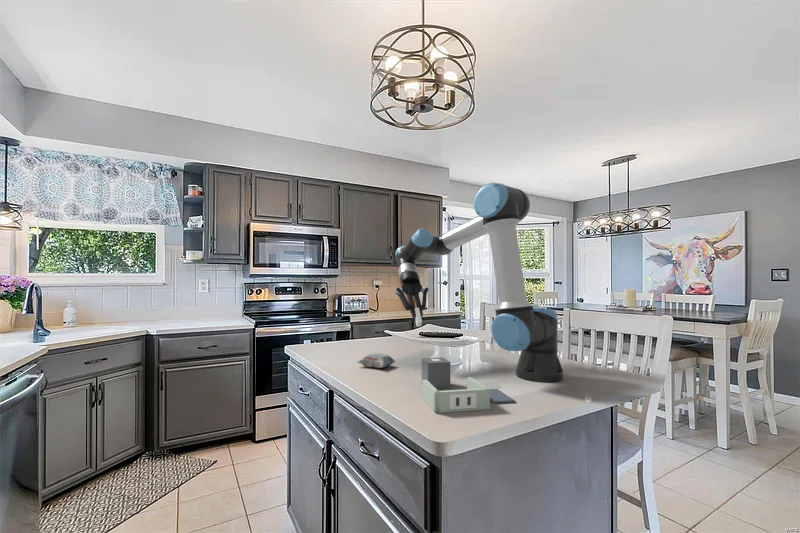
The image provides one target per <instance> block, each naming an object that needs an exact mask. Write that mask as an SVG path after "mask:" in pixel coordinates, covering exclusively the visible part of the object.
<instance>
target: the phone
mask: <svg viewBox="0 0 800 533" xmlns="http://www.w3.org/2000/svg"><path fill="white" fill-rule="evenodd" d="M489 389H490V403H492V404H494V405H502V404H503V405H504V404H507V405H508V404H516V403H517V401H516V400H515V399H514V398H512V397H510V396H509V395H507V394H506V393H504V392H503V391H501V390H499V389H498V388H489Z"/></svg>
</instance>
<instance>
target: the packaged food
mask: <svg viewBox="0 0 800 533" xmlns="http://www.w3.org/2000/svg"><path fill="white" fill-rule="evenodd" d="M395 362H396V360H395V359H394V358H393V357H391V356H390V355H389V354H382V353H375V352H374V353H373V352H372V353H369V354H367V355H366V356H363V358H361V359H360V360H358V361H356V363H358V364H360V365H362V366H364V367H368V368H372V369H384V368H387V367H390V366H392V365H393V364H394V363H395Z"/></svg>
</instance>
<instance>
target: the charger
mask: <svg viewBox="0 0 800 533" xmlns="http://www.w3.org/2000/svg"><path fill="white" fill-rule="evenodd" d="M422 380H427V381H428V382H430V383H431V384H432V385H433V386H434V387H435V388H436V389H437V390H451V361H449V359H446V358H445V357H423V358H421V381H422Z"/></svg>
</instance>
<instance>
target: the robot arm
mask: <svg viewBox="0 0 800 533" xmlns="http://www.w3.org/2000/svg"><path fill="white" fill-rule="evenodd" d="M473 199H474V200H473V209H474V212H475V213H476V215H477V216H476V217H473V218H471V219H470V220H467V221H466V222H464V223H461V224H459V225H458V226H455V227H454V228H452V229H450V230H448V231H446V232H444V233H442V234H440V235H438V236H434V235H433V234H432V233H431V232H430V231H429V230H427V229H424V228H419V229H417V230H416V232H415V233H413V235H412V236H411V238H410V239H409V241H408V242H407V243H406V244H405V245H401V246H400V247H397V249H395V262H396V266H397V271H398V277H399V282H400V287H396V289H395V295H397V296H398V297H399V299H400V301H401V303H402V306H403V308H404V310H405V311H406V312H407V311H409V313H410V314H411V317H412V319H414V320H415V324H416V325H415V326H416V327H421V326H422V322H423V320H422V319H423V315H424V311H425V309H426V308H427V295H428V292H429V287H425V288H424V287H423V285H422V284H421V281H420V277H419V273H418V269H417V265H416V264H417V263H416V262H417V261H419V259H420V258H421V256H422V255H423V254H425V255H426V254H428V255H438V256H439V255H440V256H448V255H450V254H452V253H453V251H454V249H456V248H458V247H461V246H463V245H465V244H467V243H469V242H471V241H473V240H476V239H479V238H481V237H483V236H484V235H487V234H489V242H490V248H491V256H492V261H493V262H492V263H493V269H494V275H495V284H496V289H497V295H498V296H497V298H498V305H497V306H496V307H495V310H494V311H495V317H494V318H493V321H492V322H491V325H490V332H491V336H492V339H493V341H494V342H495V343H496V344H497V345H498V346H499V347H500V348H501V349H503V350H504V351H508V352H520V354H519V357H518V360H517V363H516V365H515V366H516V367H515V375H516V377H518V378H519V379H523V380H527V381H528V380H529V381H532V382H533V381H534V382H543V383H544V382H546V383H547V382H548V383H551V382H559V381H563V380H564V370H563V367H562V364H561V360H560V358H559V356H558V322H559V321H558V314H557V311H556V310H554V309H551V308H546V307H534V305H533V304H532V303H531V302H529V301H528V299H527V293H526V292H527V291H526V287H525V279H524V273H523V267H522V260H521V254H520V248H519V242H518V241H519V240H518V234H517V233H518V232H517V226H518V224H519V223H520V222H521V221H523V220H524V219H525V218H526V217H527V215H528V214H529V211H530V207H531V202H530V199H529V196H528V195H527V194H526V192H525V191H523V189H522V190H521V188H520V189H519V188H517V187H512V186H508V185H505V184H504V183H500V182H498V183H497V182H488V183H486V184H485V185H483V186H482V187H480V189H479V190H478V192H477V193H476V194H475V197H474V198H473ZM420 293H421V294H422V298H421V297H420ZM406 296H407V297H406Z"/></svg>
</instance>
